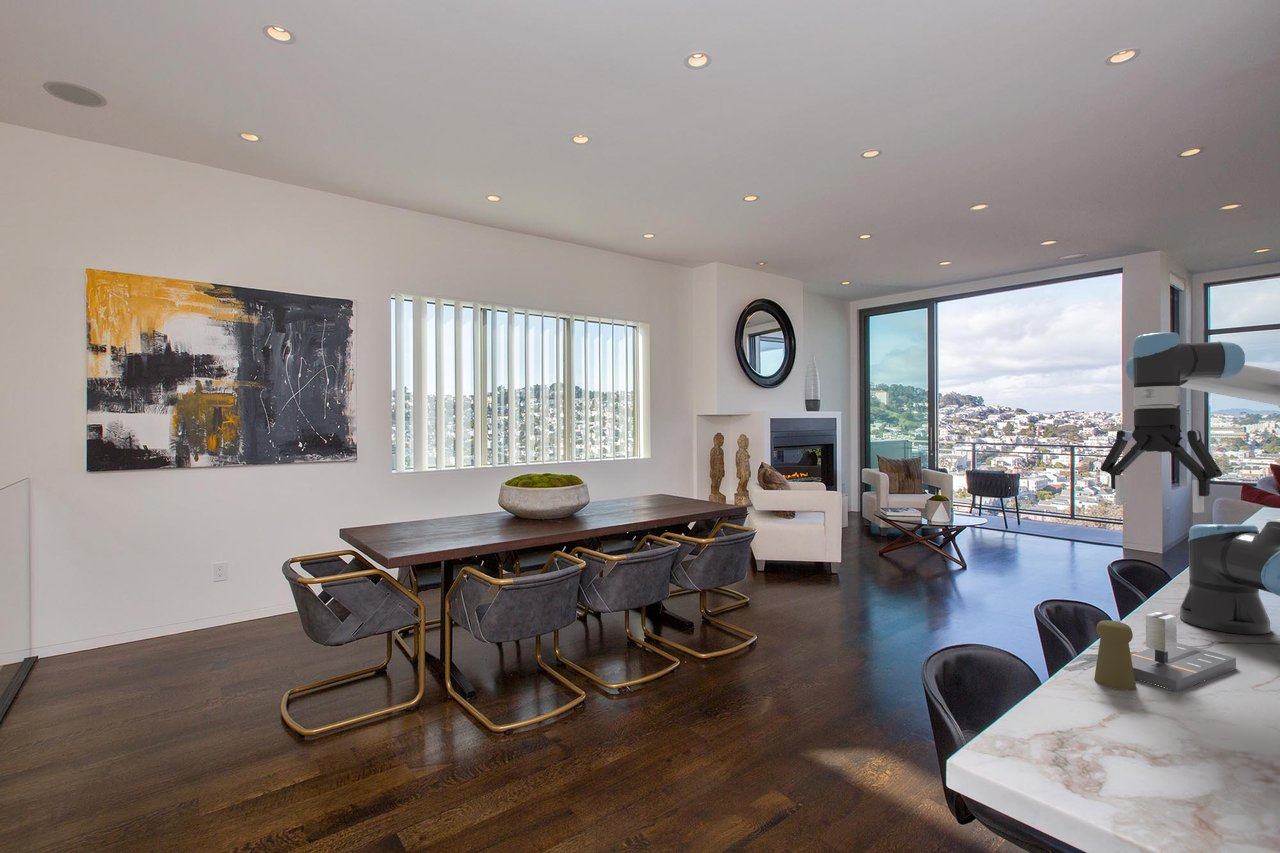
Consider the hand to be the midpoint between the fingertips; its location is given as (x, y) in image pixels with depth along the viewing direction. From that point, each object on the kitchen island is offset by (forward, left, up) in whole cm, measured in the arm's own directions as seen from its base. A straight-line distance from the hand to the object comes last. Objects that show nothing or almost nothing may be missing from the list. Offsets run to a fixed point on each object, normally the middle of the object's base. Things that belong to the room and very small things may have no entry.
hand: (1157, 508), depth 129 cm
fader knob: (+17, +8, -26) cm, 33 cm away
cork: (+29, +6, -29) cm, 41 cm away
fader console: (+13, +8, -29) cm, 33 cm away
